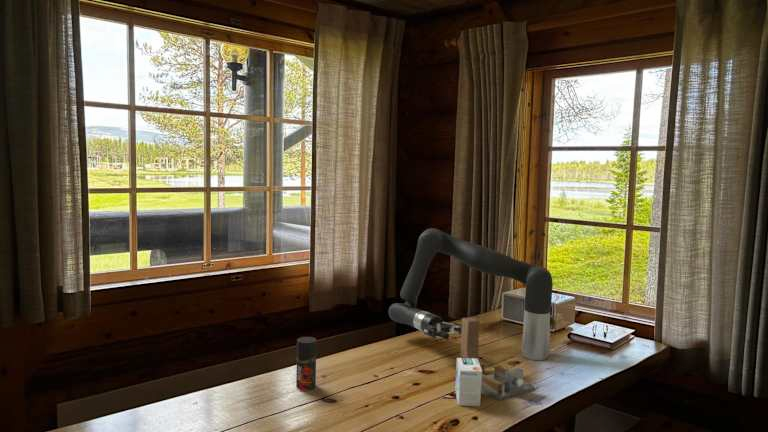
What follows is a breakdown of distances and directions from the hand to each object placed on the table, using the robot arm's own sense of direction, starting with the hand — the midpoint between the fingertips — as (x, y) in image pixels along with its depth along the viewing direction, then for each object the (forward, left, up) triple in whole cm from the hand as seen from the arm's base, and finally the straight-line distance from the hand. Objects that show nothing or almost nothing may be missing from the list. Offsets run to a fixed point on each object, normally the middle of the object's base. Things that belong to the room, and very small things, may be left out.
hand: (457, 334), depth 192 cm
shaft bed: (0, +21, -11) cm, 23 cm away
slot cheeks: (0, +20, -10) cm, 22 cm away
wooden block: (0, +8, -11) cm, 14 cm away
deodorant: (+53, -10, -11) cm, 55 cm away
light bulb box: (+15, +22, -11) cm, 29 cm away
